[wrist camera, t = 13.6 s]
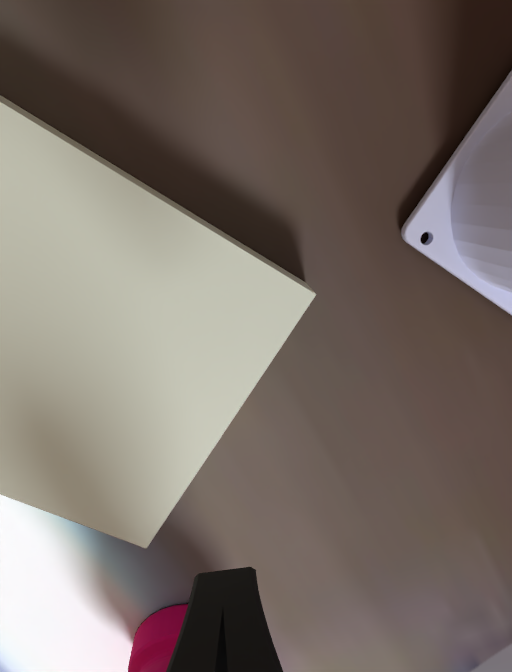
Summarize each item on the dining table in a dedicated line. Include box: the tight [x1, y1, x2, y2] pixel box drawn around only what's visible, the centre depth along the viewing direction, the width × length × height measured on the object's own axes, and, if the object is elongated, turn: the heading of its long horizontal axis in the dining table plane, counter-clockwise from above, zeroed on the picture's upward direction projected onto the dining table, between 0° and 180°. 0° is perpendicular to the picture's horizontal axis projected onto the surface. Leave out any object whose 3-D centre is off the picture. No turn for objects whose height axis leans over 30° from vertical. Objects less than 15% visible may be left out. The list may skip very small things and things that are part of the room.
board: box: [0, 95, 316, 548], centre depth 16 cm, size 14×14×2 cm
